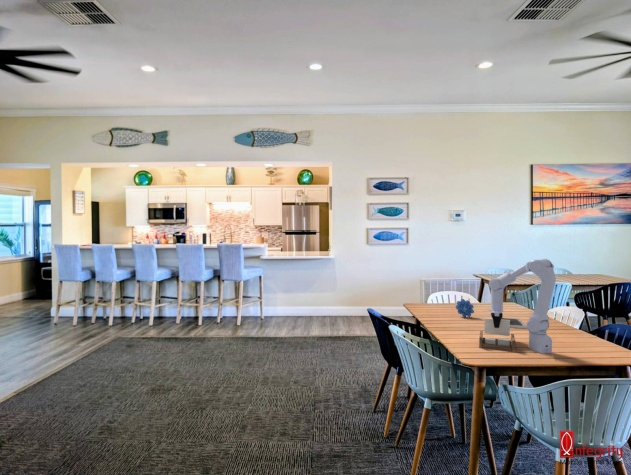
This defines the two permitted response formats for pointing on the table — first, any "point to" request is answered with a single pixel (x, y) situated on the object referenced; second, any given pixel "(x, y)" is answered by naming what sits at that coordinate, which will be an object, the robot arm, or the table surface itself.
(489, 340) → the offcut
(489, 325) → the cream rectangular slab
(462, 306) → the blue flower
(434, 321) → the table surface
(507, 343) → the offcut
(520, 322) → the square clock
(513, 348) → the rack
